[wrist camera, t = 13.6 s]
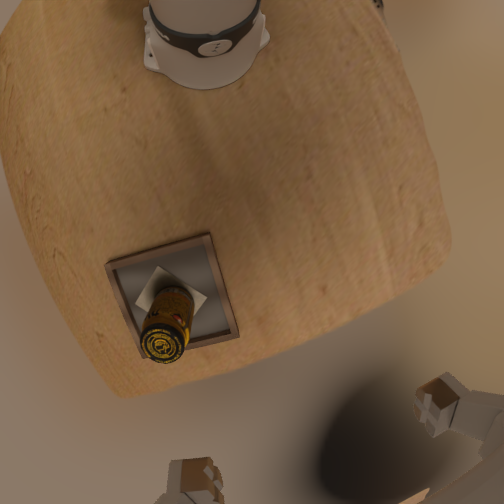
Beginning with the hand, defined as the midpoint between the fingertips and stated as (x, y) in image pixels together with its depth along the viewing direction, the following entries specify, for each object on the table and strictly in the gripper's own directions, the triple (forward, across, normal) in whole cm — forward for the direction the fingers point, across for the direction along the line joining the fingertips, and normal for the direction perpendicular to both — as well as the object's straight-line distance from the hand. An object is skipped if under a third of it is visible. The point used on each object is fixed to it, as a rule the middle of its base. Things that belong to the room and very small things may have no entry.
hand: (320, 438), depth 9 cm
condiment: (+34, +12, +5) cm, 36 cm away
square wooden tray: (+34, +12, +5) cm, 36 cm away
